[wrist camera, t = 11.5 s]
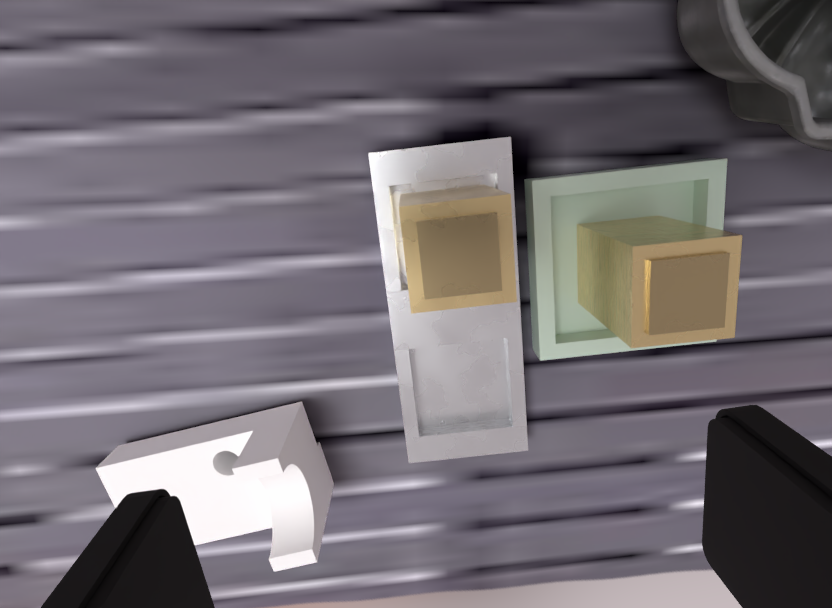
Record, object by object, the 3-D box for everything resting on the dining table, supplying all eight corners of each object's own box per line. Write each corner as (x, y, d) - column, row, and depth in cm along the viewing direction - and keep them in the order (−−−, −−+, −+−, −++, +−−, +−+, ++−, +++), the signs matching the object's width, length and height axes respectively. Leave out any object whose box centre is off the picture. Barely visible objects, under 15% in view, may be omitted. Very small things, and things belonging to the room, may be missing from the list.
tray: (524, 179, 31) (532, 180, 29) (707, 158, 31) (727, 158, 29) (532, 348, 34) (540, 360, 32) (698, 330, 34) (716, 341, 32)
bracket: (304, 395, 35) (277, 458, 27) (334, 481, 37) (316, 562, 29) (125, 438, 35) (53, 511, 28) (164, 521, 37) (105, 609, 30)
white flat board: (370, 153, 30) (368, 153, 28) (505, 137, 30) (510, 136, 28) (408, 449, 36) (408, 463, 34) (522, 437, 36) (528, 450, 34)
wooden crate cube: (576, 224, 31) (635, 247, 23) (658, 215, 31) (746, 236, 23) (577, 302, 32) (634, 350, 24) (656, 294, 32) (738, 339, 24)
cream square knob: (400, 193, 30) (398, 207, 22) (484, 184, 30) (512, 194, 22) (410, 275, 32) (411, 315, 24) (489, 266, 32) (518, 303, 24)
